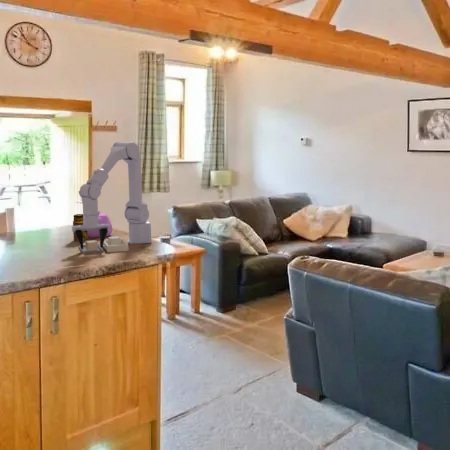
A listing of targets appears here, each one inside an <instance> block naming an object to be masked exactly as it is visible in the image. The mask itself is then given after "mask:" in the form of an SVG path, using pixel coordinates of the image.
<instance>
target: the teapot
mask: <svg viewBox="0 0 450 450" xmlns="http://www.w3.org/2000/svg"><path fill="white" fill-rule="evenodd" d="M98 224H110V229H107V230H108V232H107V235H106V237H105V238H108V236H109V237H110V235H111V234H112V232H113V224H112V221H111V219H110V218H109V215H107V214H106V213H104V212H103V213H101V211H100V210H98ZM91 229H93V228H91ZM87 233H88V238H90V239H95V238H100V232H99V230H87Z"/></svg>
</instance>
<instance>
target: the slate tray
mask: <svg viewBox="0 0 450 450" xmlns="http://www.w3.org/2000/svg"><path fill="white" fill-rule="evenodd" d="M78 248H79V250H80V253H81V254H83V255H84V254H86V255H87V254H97V253H99V254H100V253H104V250H105V249H103V248H101V247H100V243H98V250H97V251H86V244H83V249H81V247H80V244H79V245H78Z"/></svg>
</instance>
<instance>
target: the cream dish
mask: <svg viewBox="0 0 450 450" xmlns="http://www.w3.org/2000/svg"><path fill="white" fill-rule="evenodd" d="M120 240H121V245H108V239H104V243H103V248H104V250H105V252H107V253H116V252H128V251H129V243H128V242H127V241H125V239H124V238H120Z"/></svg>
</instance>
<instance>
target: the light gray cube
mask: <svg viewBox="0 0 450 450" xmlns="http://www.w3.org/2000/svg"><path fill="white" fill-rule="evenodd" d="M120 239H121V237H119V236H117V235H116V236H109V237H108V236H107V240H108V245H121V240H120Z"/></svg>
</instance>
